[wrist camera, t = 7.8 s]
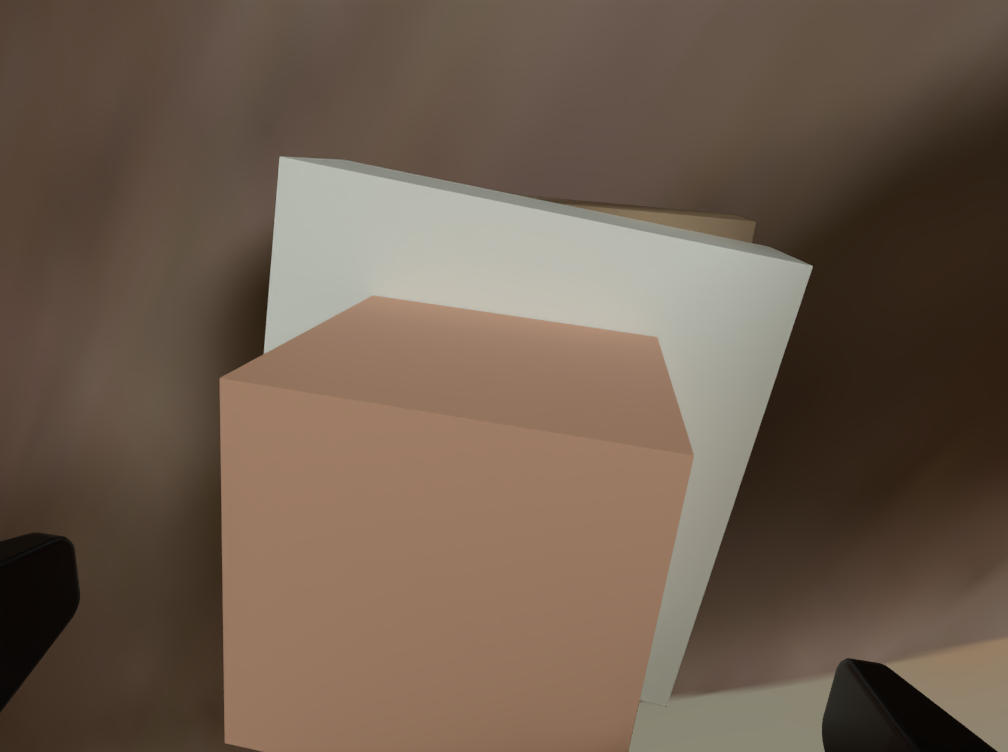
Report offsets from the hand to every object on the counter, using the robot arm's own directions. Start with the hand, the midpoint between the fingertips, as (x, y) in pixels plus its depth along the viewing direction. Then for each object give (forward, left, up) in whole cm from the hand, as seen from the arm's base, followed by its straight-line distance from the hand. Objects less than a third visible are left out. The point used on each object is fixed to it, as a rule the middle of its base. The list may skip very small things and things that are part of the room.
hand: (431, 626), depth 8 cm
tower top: (0, 0, -8) cm, 8 cm away
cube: (0, 0, -5) cm, 5 cm away
